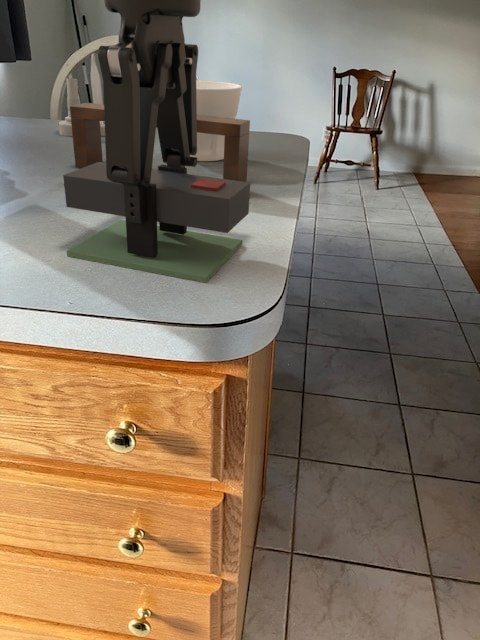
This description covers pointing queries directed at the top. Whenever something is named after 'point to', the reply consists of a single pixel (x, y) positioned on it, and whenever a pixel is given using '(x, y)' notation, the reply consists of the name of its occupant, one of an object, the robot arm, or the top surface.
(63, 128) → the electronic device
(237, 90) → the cup
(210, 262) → the mat
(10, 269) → the top surface
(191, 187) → the remote
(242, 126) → the brown wooden arch
